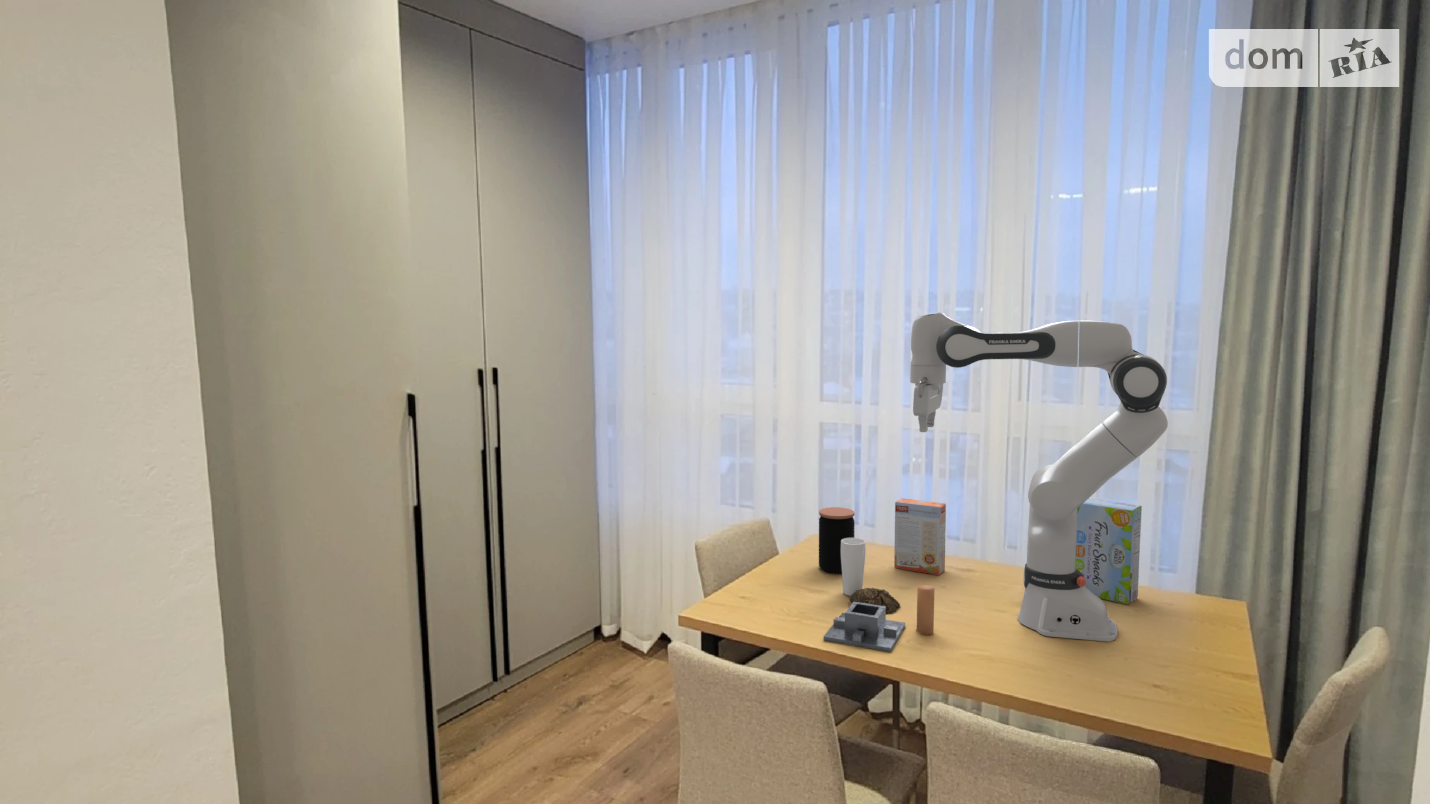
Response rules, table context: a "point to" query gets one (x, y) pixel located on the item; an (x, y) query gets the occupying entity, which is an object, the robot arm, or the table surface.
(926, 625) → the rounded pin
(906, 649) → the table surface
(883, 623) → the hollow box on baseplate
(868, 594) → the bread roll
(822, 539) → the coffee jar
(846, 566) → the drinking glass
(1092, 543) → the snack box
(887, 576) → the table surface
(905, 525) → the cracker box
